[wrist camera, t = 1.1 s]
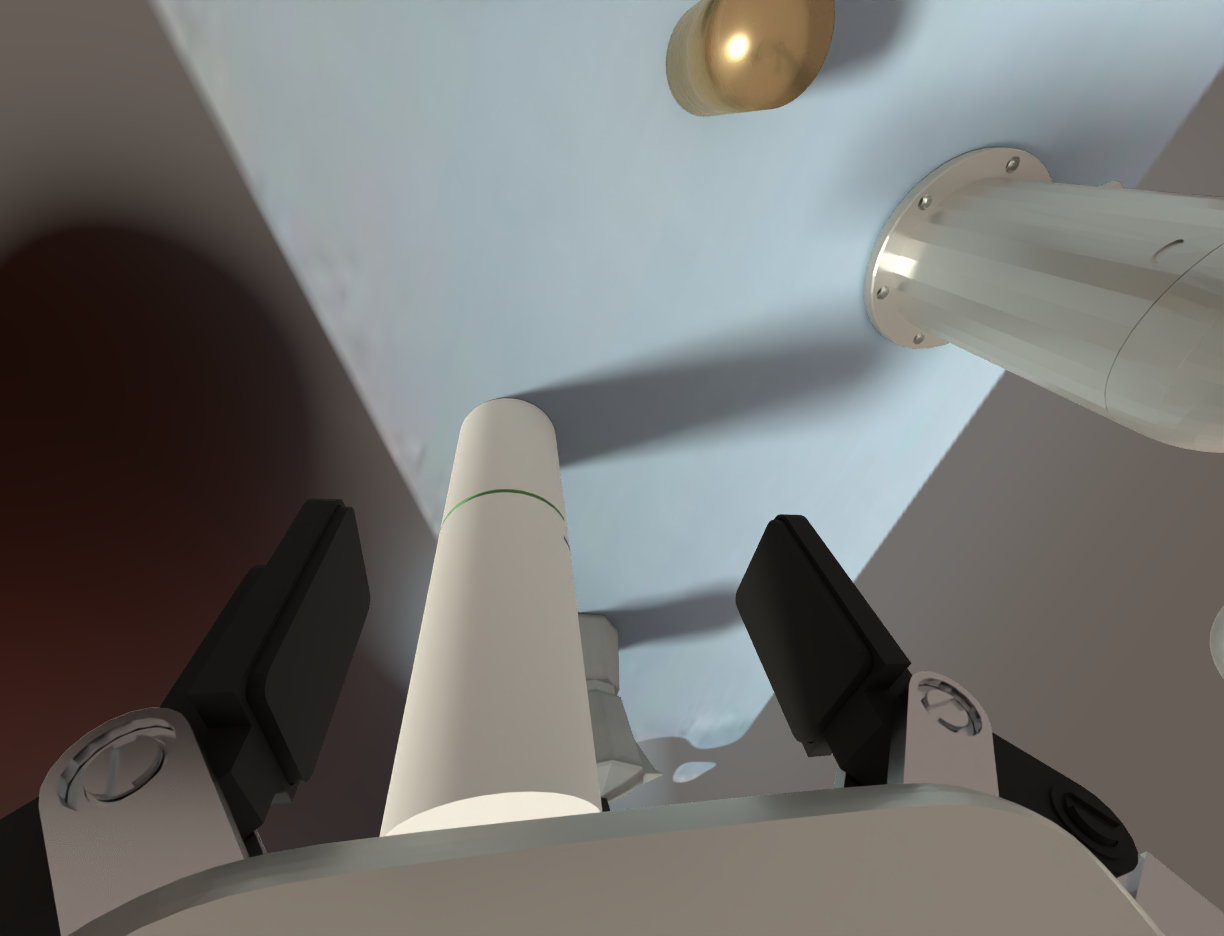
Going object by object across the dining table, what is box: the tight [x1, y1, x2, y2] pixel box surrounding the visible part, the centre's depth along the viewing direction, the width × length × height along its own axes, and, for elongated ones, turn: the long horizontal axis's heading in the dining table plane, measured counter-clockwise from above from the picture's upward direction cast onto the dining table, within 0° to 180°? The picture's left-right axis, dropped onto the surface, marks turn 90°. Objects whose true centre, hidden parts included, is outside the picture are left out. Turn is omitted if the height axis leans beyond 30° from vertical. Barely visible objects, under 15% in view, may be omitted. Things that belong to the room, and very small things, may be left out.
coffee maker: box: [578, 613, 663, 812], centre depth 43 cm, size 15×9×18 cm, turn 72°
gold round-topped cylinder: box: [666, 0, 835, 116], centre depth 21 cm, size 5×5×8 cm
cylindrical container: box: [380, 398, 602, 837], centre depth 25 cm, size 7×7×25 cm
